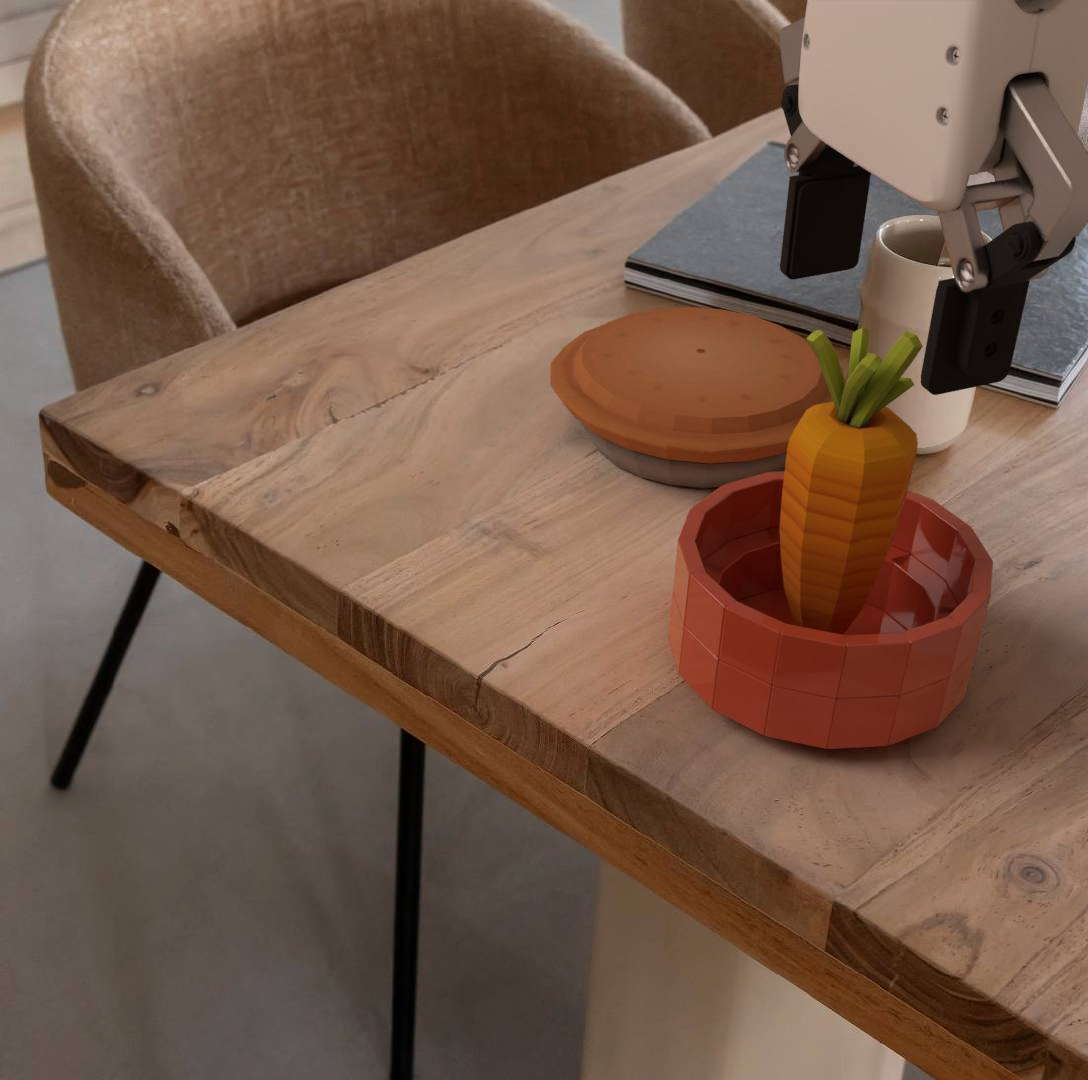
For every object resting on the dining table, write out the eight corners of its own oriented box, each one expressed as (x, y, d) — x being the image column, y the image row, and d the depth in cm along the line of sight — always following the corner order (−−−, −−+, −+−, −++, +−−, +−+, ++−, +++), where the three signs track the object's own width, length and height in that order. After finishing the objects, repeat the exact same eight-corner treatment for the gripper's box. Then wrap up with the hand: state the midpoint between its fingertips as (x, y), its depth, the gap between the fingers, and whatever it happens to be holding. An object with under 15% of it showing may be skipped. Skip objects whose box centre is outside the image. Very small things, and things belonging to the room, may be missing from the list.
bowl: (766, 549, 69) (781, 440, 66) (1011, 655, 63) (1043, 541, 59) (612, 674, 61) (620, 558, 58) (873, 809, 55) (900, 689, 52)
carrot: (733, 646, 62) (776, 325, 53) (806, 600, 64) (859, 288, 56) (827, 703, 59) (889, 373, 50) (899, 652, 62) (970, 331, 53)
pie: (883, 416, 80) (899, 334, 77) (759, 547, 69) (772, 458, 66) (639, 343, 87) (645, 265, 84) (494, 452, 76) (494, 367, 73)
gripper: (1292, -164, 37) (1127, 416, 47) (917, -247, 50) (851, 222, 60) (1047, -140, 35) (930, 460, 45) (722, -233, 48) (689, 250, 58)
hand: (885, 324), depth 53 cm, fingers open, 9 cm apart
